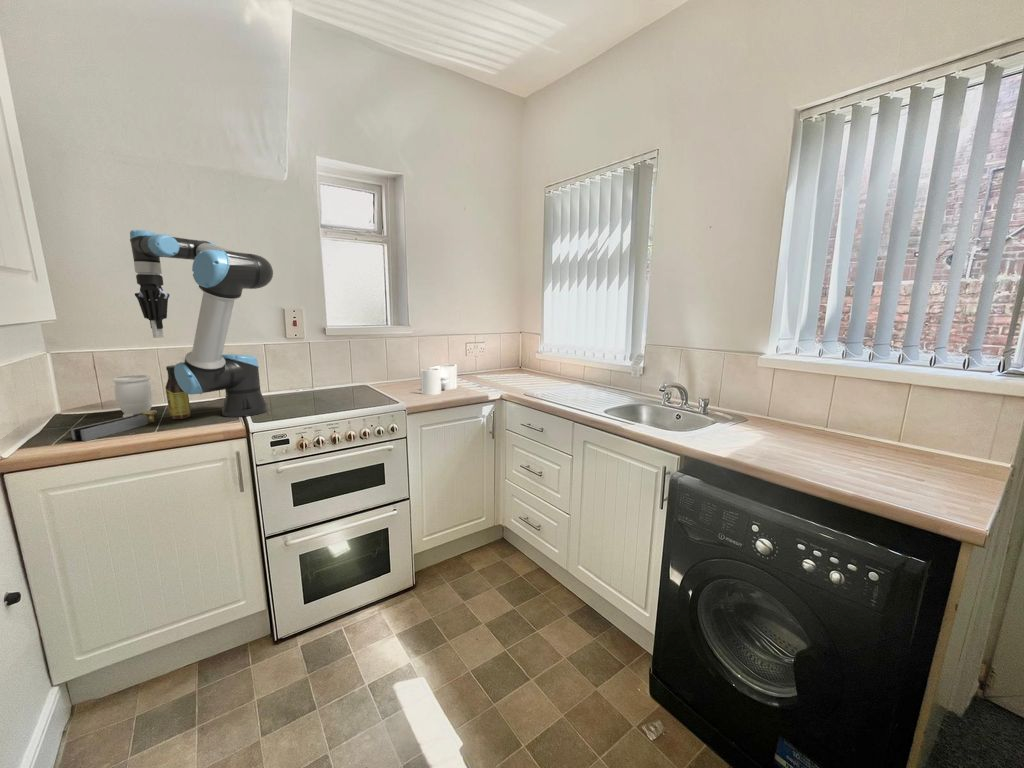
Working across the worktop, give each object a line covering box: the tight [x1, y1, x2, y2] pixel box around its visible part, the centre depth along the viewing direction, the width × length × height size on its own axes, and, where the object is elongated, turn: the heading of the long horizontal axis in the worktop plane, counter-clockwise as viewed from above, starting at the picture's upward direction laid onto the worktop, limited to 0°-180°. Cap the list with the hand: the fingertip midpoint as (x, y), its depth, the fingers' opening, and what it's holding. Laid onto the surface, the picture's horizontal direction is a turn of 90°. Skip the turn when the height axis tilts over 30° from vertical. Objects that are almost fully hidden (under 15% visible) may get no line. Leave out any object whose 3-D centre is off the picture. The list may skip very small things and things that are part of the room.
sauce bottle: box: [165, 364, 192, 420], centre depth 154 cm, size 7×6×20 cm
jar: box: [112, 374, 154, 418], centre depth 156 cm, size 11×10×15 cm
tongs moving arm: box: [70, 409, 158, 441], centre depth 140 cm, size 24×4×4 cm, turn 166°
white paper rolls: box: [420, 363, 458, 396], centre depth 210 cm, size 25×10×12 cm, turn 159°
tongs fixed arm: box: [80, 414, 155, 442], centre depth 139 cm, size 22×3×4 cm, turn 171°
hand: (158, 337), depth 159 cm, fingers closed
